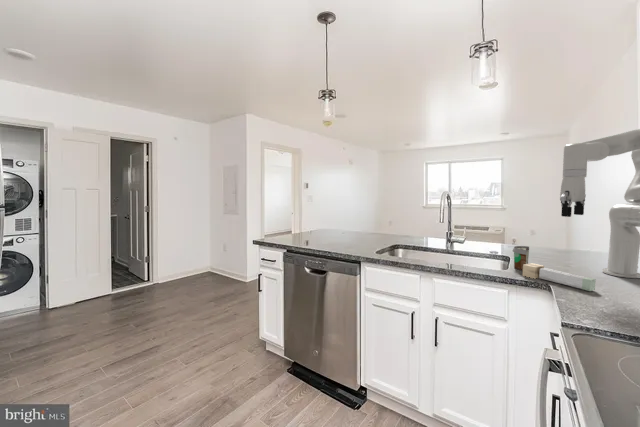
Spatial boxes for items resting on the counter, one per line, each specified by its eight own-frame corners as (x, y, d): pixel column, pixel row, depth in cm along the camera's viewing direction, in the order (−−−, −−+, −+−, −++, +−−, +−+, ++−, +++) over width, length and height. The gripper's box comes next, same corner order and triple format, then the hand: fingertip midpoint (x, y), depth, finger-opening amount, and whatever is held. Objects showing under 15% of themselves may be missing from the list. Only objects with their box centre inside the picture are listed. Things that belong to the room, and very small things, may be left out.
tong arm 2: (541, 277, 129) (542, 268, 128) (544, 277, 130) (544, 267, 129) (592, 290, 113) (593, 279, 113) (594, 290, 114) (595, 279, 113)
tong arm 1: (539, 278, 128) (539, 268, 128) (541, 277, 129) (542, 268, 128) (589, 291, 112) (590, 280, 112) (592, 290, 113) (593, 279, 113)
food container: (513, 264, 153) (514, 244, 152) (528, 266, 149) (529, 246, 148) (509, 269, 143) (510, 248, 142) (525, 271, 139) (526, 250, 139)
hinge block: (531, 274, 136) (532, 263, 135) (543, 277, 131) (544, 265, 131) (522, 275, 133) (523, 264, 132) (534, 278, 128) (535, 267, 128)
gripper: (574, 174, 132) (572, 213, 134) (552, 174, 124) (550, 216, 126) (596, 173, 125) (594, 214, 127) (574, 174, 118) (572, 218, 119)
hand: (572, 215), depth 126 cm, fingers open, 9 cm apart
